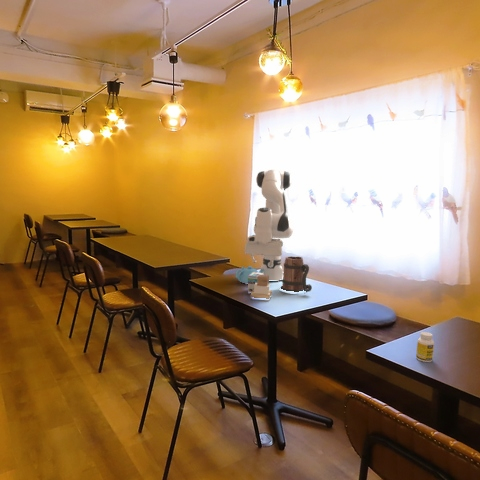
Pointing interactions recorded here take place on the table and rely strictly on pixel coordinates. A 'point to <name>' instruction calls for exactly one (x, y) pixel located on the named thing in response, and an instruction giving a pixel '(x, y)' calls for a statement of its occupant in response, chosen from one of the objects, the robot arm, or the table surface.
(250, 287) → the light bulb box
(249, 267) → the teapot
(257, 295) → the oak base block
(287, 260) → the tankard
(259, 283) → the walnut block
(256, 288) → the off-white middle block
